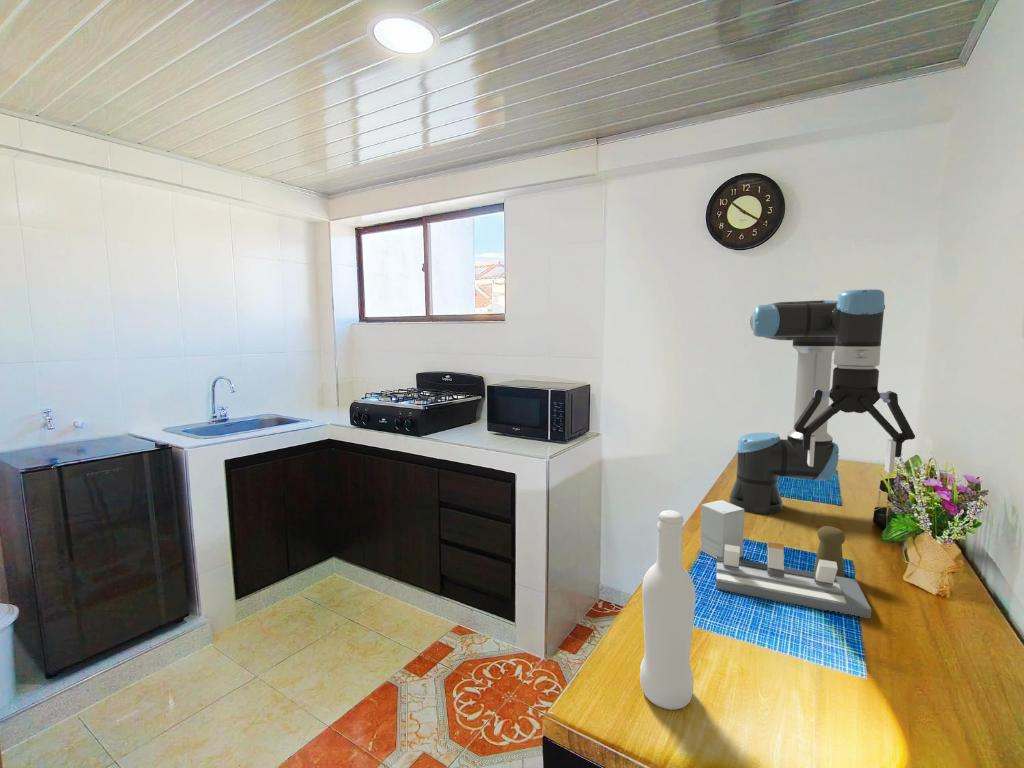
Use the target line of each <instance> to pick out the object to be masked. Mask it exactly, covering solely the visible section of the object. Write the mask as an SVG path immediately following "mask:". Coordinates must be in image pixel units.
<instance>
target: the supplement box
mask: <svg viewBox="0 0 1024 768" xmlns="http://www.w3.org/2000/svg"><path fill="white" fill-rule="evenodd" d="M700 517H701V518H700V552H703V553H705V554H707V555H708V556H710V557H712V558H714V559H716V560H717V556H721V557H724V552H725V544H727V545H733V546H739V547H740V556H739V559H740V558H742V557H743V556H744V531H745V528H744V527H745V526H744V525H745V511H744V509H743V508H741V507H738V506H735V505H733V504H731V503H730V502H727V501H725V500H723V499H720V500H719V499H718V500H716V501H715V500H714V501H711V502H707V503H703V504H701V515H700Z"/></svg>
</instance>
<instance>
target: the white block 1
mask: <svg viewBox="0 0 1024 768" xmlns="http://www.w3.org/2000/svg"><path fill="white" fill-rule="evenodd" d="M739 556H740V547H739V546H733V545H727V544H725V552H724V561H723V566H726V567H731V568H737V569H739V560H740V558H739Z"/></svg>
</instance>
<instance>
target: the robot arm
mask: <svg viewBox="0 0 1024 768" xmlns="http://www.w3.org/2000/svg"><path fill="white" fill-rule="evenodd" d="M885 309H886V305H885V292H884V291H883V290H881V289H875V288H873V289H872V288H871V289H870V288H869V289H854V290H853V289H851V290H850V289H849V290H844V291H842V292H840V293H839V294H838V299H837V300H828V299H827V300H824V299H821V300H803V301H799V300H798V301H779V302H774V303H768V304H759V305H757V306H755V308H754V309H753V310H754V311H753V313H751V315H750V319H749V321H750V322H749V323H750V324H749V325H750V328H751V330H752V332H753V335H754V336H755V337H759V338H760V337H761V338H765V339H769V340H775V341H792V348H794V350H795V351H797V367H796V368H797V369H796V383H795V387H796V388H795V403H794V405H795V406H794V415H793V417H794V418H793V420H794V421H793V429H791V431H789V432H788V433H787V438H786V439H781V437H780V435H779V434H777V433H775V432H774V433H773V432H752V433H746V434H743V435H742V436H740V437H739V439H738V442H737V448H736V452H737V457H736V459H737V460H736V479H735V482H734V484H733V486H732V489H731V491H730V494H729V502H728V503H731V504H733V505H735V506H738V507H741V508H743V509H744V512H748V513H753V514H761V515H763V514H764V515H772V514H777V513H780V512H781V511H783V500H782V496H781V493H780V489H779V487H778V477H782V478H790V479H791V478H793V479H801V480H810V481H824V482H825V481H828V480H831V479H832V478H833V476H834V475H835V473H836V471H837V467H838V463H839V457H840V456H839V453H840V451H839V450H840V449H839V445H838V444H837V443H835V442H833V436H832V435H831V434H830V433H829V432H828V421H829V420H830V419H831V418H832V417H833V416H835V415H836V414H838V413H839V412H840V411H841V412H843V413H857V414H865V413H866V412H867V413H869V414H870V415H871V417H872V418H874V420H875V421H876V422H877V423H878V424H879V425H880V426H881V428H883V430H884V431H885V432H886V433H888V435H889V436H890V437H891V438H887V439H886V448H885V449H886V450H885V460H884V471H885V472H886V473H887V474H888V475H894V472H895V461H896V459H895V458H901V456H902V450H903V443H904V442H905V441H907V440H908V441H909V440H912V441H913V440H915V438H916V435H915V433H914V431H913V429H912V428H911V425H910V423H909V422H908V420H907V418H906V416H905V413H904V412H903V410H902V408H901V407H900V405H899V399H898V398H899V397H898V394H897V392H894V391H893V390H888V391H886V392H879V389H878V388H879V377H880V370H879V369H878V368H876V367H879V366H880V364H881V361H880V360H881V346H882V336H883V324H884V315H885ZM833 352H834V355H833ZM832 362H833V365H834V366H836V367H834V368H833V369H832ZM831 373H832V374H831ZM831 375H832V380H831ZM831 381H832V383H831ZM831 384H832V385H831ZM880 399H881V400H882V401H883V402H884V403H886V404H887V406H888V409H889V411H890V412H891V414H892V416H893V419H894V420H895V422H896V423H897V425H898V427H899V429H900V431H901V432H898V430H897V429H896V428H895V427H894V426H893V425H892V424H891V423H890V422H889V421H888V420H887V419H886V418H885V417H884V415H883V414H882V413H881V412H880V411H879V410H878V409H877V408H876V407H875V406H874V405H875V404H876V403H877V402H878V401H879V400H880ZM830 400H831V401H832V403H831V404H830Z"/></svg>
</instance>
